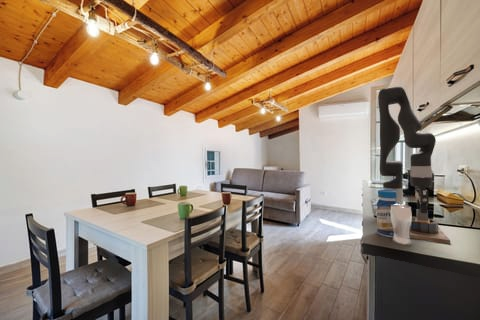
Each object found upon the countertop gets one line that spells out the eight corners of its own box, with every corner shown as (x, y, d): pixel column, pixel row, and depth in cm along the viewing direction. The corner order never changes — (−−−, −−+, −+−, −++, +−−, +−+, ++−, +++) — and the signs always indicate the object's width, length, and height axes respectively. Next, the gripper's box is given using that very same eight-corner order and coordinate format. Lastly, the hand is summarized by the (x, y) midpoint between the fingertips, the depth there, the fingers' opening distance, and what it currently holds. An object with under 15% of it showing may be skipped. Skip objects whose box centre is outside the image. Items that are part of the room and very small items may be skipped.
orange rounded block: (413, 226, 95) (413, 208, 95) (427, 228, 92) (427, 209, 92) (416, 230, 91) (416, 211, 90) (431, 232, 88) (431, 212, 88)
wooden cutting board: (400, 224, 104) (400, 221, 104) (437, 229, 96) (437, 226, 96) (405, 237, 87) (405, 233, 87) (450, 244, 79) (450, 240, 79)
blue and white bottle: (404, 236, 88) (403, 191, 88) (390, 239, 85) (389, 192, 86) (385, 230, 96) (384, 188, 96) (372, 232, 93) (371, 190, 94)
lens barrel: (406, 224, 99) (405, 215, 99) (434, 228, 93) (434, 218, 93) (408, 231, 90) (408, 221, 90) (440, 235, 84) (440, 224, 84)
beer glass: (391, 237, 87) (390, 203, 87) (412, 241, 83) (411, 205, 83) (390, 242, 82) (389, 206, 82) (413, 247, 77) (411, 208, 77)
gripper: (408, 174, 100) (409, 206, 100) (412, 177, 88) (413, 213, 88) (428, 174, 95) (429, 208, 95) (436, 177, 84) (437, 215, 84)
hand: (421, 210), depth 92 cm, fingers open, 8 cm apart
